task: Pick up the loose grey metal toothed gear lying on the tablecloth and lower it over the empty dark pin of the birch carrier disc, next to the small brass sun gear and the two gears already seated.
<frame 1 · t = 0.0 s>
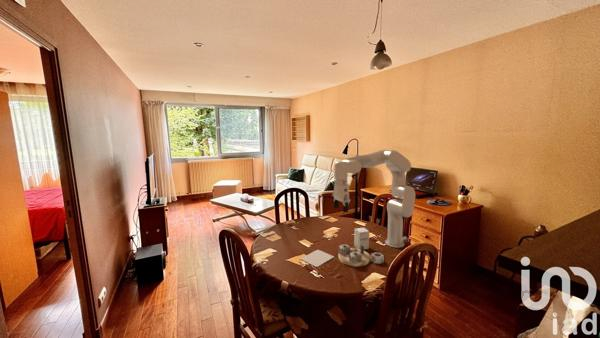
hand: (340, 209, 143), 31 cm above the table, fingers open, 9 cm apart
carrier: (353, 258, 147), on the table
supplement box: (361, 247, 161), on the table
planet gear: (377, 261, 144), on the table
paper stack: (318, 264, 142), on the table
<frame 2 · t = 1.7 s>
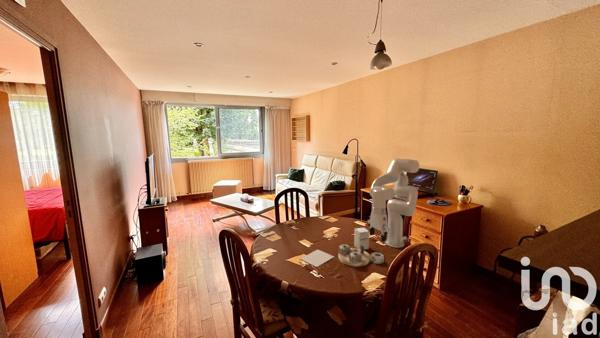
hand: (377, 238, 141), 15 cm above the table, fingers open, 9 cm apart
nothing on the table moved.
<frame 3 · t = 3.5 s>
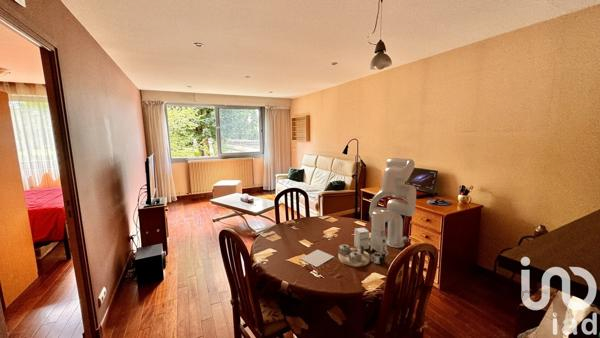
hand: (377, 259, 143), 1 cm above the table, fingers closed on planet gear, 7 cm apart
planet gear: (377, 261, 144), on the table, touching gripper
everything else where it was.
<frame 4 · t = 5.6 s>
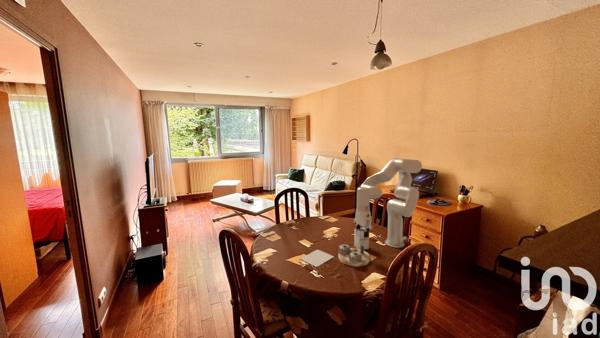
hand: (362, 234, 148), 14 cm above the table, fingers closed on planet gear, 7 cm apart
planet gear: (362, 236, 148), point 13 cm above the table, touching gripper
everything else where it was.
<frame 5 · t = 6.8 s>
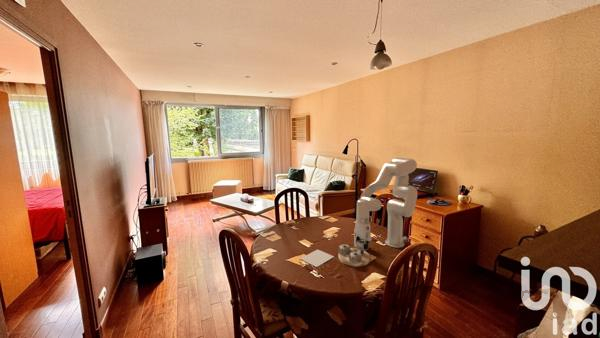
hand: (361, 246, 149), 6 cm above the table, fingers closed on planet gear, 7 cm apart
planet gear: (361, 248, 149), point 5 cm above the table, touching gripper
everything else where it was.
when the fingers open (4 cm above the table, at t = 7.8 s): planet gear stays where it is, resting on carrier.
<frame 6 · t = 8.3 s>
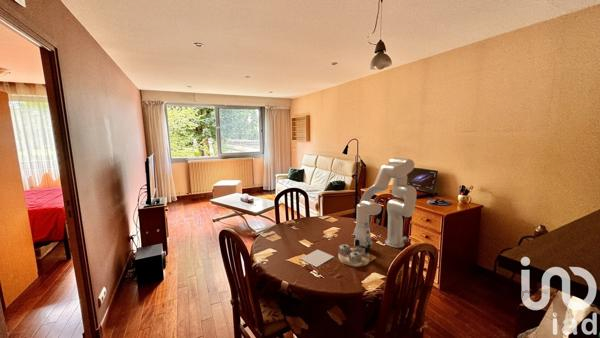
hand: (362, 249, 149), 4 cm above the table, fingers open, 9 cm apart
planet gear: (362, 253, 150), point 2 cm above the table, touching carrier
everything else where it was.
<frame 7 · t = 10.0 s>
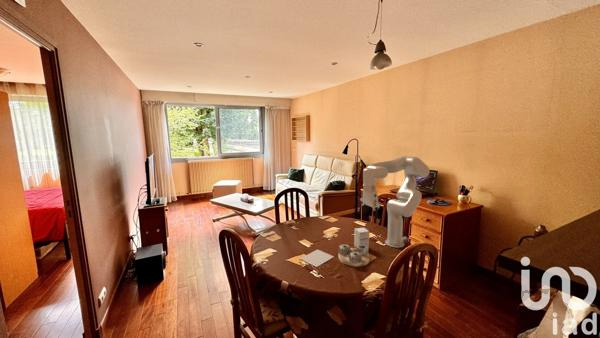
hand: (369, 214, 150), 26 cm above the table, fingers open, 9 cm apart
nothing on the table moved.
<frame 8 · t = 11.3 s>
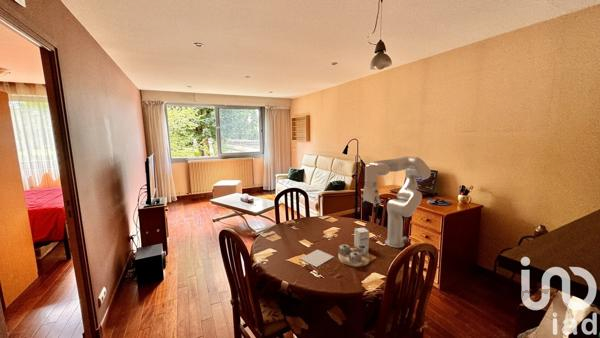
hand: (370, 210, 150), 28 cm above the table, fingers open, 9 cm apart
nothing on the table moved.
at the end: planet gear 0.0 cm from the target spot on the carrier, point 2.0 cm above the carrier's base; planet gear tilted 0°; the gripper is holding nothing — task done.
